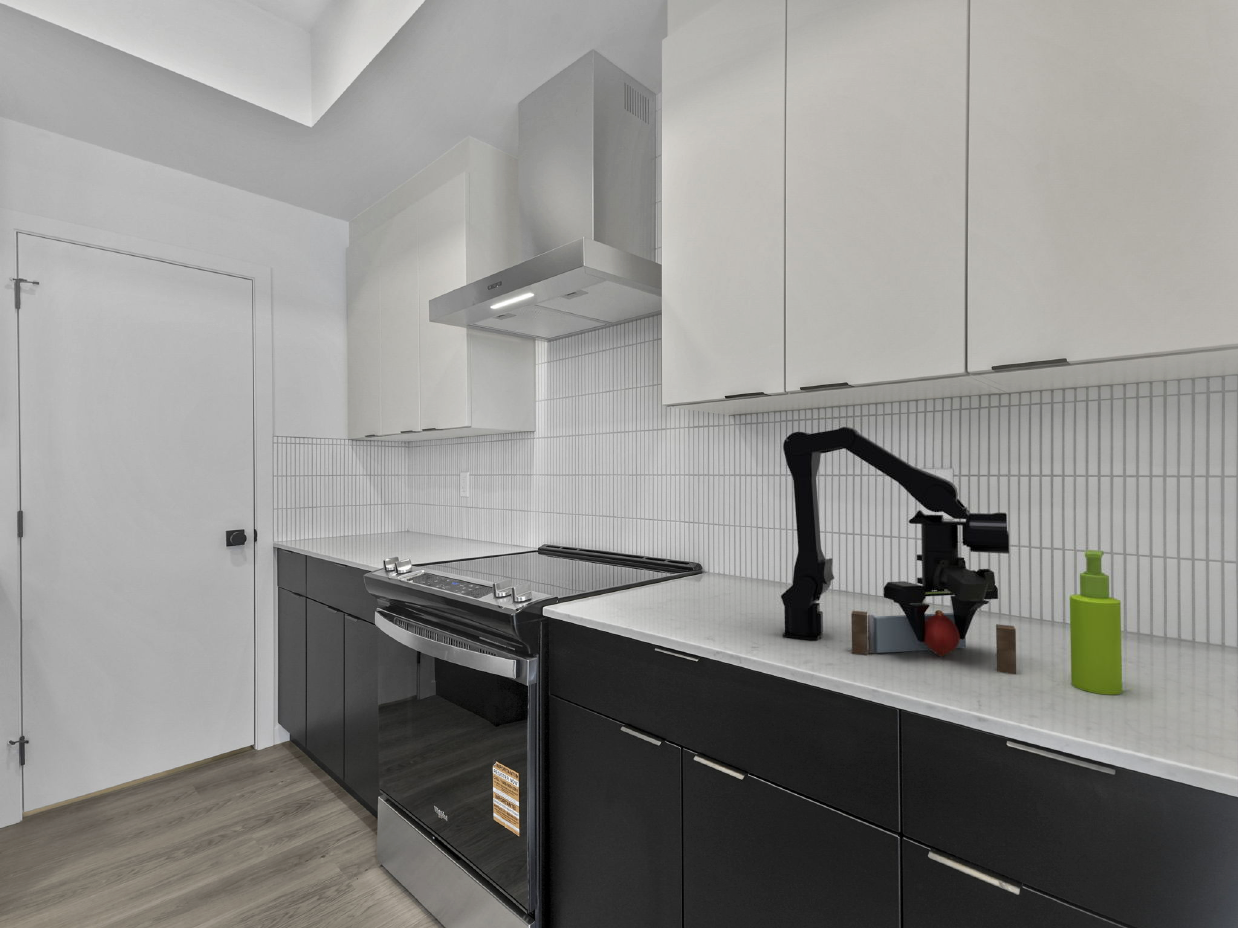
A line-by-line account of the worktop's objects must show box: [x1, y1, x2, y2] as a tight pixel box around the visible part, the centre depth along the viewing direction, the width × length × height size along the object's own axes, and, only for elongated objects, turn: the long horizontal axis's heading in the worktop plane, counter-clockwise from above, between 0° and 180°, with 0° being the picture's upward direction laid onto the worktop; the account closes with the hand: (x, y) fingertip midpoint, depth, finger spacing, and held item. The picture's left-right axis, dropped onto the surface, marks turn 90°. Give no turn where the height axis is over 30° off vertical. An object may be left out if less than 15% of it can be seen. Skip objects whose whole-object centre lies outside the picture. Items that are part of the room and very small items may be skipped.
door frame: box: [850, 610, 1017, 675], centre depth 101 cm, size 24×3×7 cm, turn 63°
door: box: [867, 612, 967, 654], centre depth 107 cm, size 18×1×6 cm, turn 99°
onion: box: [924, 609, 960, 658], centre depth 104 cm, size 6×6×8 cm
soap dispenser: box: [1069, 549, 1123, 696], centre depth 89 cm, size 6×7×20 cm
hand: (941, 640), depth 105 cm, fingers open, 8 cm apart
